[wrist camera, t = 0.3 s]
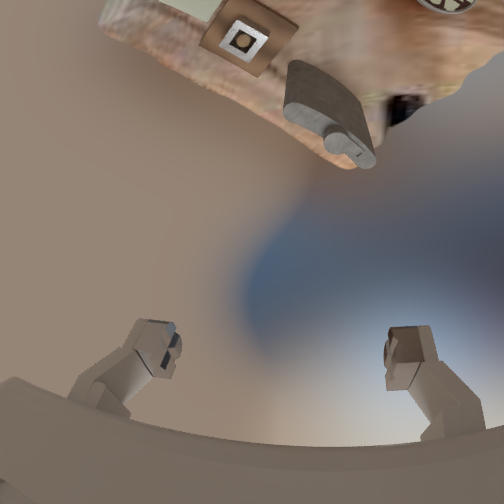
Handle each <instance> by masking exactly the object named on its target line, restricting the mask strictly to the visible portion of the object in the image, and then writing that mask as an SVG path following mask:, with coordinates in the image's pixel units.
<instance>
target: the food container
mask: <svg viewBox="0 0 504 504" xmlns="http://www.w3.org/2000/svg"><path fill="white" fill-rule="evenodd" d="M417 1H418V2H419V3H420V4H422V5H423V6H425V7H427V8H428V9H430V10H433V11H435V12H439V13H445V14H458V13H462V12H464V11H467V10H468V9H470V8H471V7H472V6H473V5H474V4H475V3H476V1H477V0H417Z"/></svg>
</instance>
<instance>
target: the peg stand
mask: <svg viewBox="0 0 504 504" xmlns="http://www.w3.org/2000/svg"><path fill="white" fill-rule="evenodd" d="M241 15H242V16H244V17H246V18H248V19H250V20H251V21H253V22H255V23H256V24H258V25H260V26H262V27H263V28H265V29H267V30H268V31H270V35H269V38H268V39H267V40H266V41H265V43H264V44H263V45H262V46H261V48H260V49H259V50H258V52H257V53H256V54H255V55H254V57H253V58H252V59H251V61H250V62H249V63H247V62H246V61H244V60H242V59H241V58H239V57H237V56H235V55H233V54H232V53H230V52H228V51H226V50H224V49H223V48H221V47H219V45H220V43H221V42H222V40H223V39H224V37H225V36H226V34H227V33H228V31H229V30H230V29H231V27H232V26H233V24H234V23H235V22H236V20H237V19H238V18H239V17H240V16H241ZM298 28H299V26H297V25H296V24H294V23H293V22H291V21H290V20H288V19H286V18H285V17H283V16H282V15H280V14H278V13H277V12H275V11H274V10H272V9H270V8H269V7H267V6H265V5H263V4H262V3H260V2H258V1H256V0H228V1H227V3H226V4H225V6H224V7H223V9H222V10H221V12H220V13H219V15H218V16H217V17H216V19H215V20H214V22H213V23H212V25H211V27H210V28H209V30H208V31H207V33H206V34H205V36H204V37H203V39H202V41H201V42H200V44H199V46H201V47H203V48H205V49H207V50H209V51H211V52H213V53H214V54H216V55H218V56H220V57H222V58H224V59H226V60H227V61H229V62H231V63H233V64H234V65H236V66H238V67H240V68H241V69H243V70H245V71H247V72H248V73H250V74H252V75H253V76H255V77H257V78H258V77H259V76H260V74H261V73H262V72H263V71H264V69H265V68H266V67H267V66H268V64H269V63H270V62H271V61H272V59H273V58H274V57H275V56H276V55H277V53H278V52H279V51H280V50H281V49H282V47H283V46H284V45H285V44H286V43H287V42H288V40H289V39H290V38H291V37H292V36H293V35H294V33H295V32H296V31H297V30H298ZM234 38H235V39H237V41H236V42H237V44H238V46H240V47H246V46H249V47H250V46H251V45H252V44H253V42H254V41H255V40H256V38H254V37H253V36H251V35H249V34H247V33H246V32H244V31H242V30H239V31H238V32H237V34H236V35H235V36H234Z"/></svg>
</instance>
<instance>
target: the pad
mask: <svg viewBox="0 0 504 504" xmlns="http://www.w3.org/2000/svg"><path fill="white" fill-rule="evenodd" d="M158 1H160V2H162V3H165V4H167V5H170V6H172V7H174V8H176V9H179V10H181V11H183V12H185V13H187V14H190V15H192V16H194V17H196V18H198V19H200V20H202V21H204V22H206V23H208V21H209V20H210V18H211V17H212V15H213V14H214V12H215V11H216V9H217V8H218V6H219V5H220V3H221V2H222V1H223V0H158Z"/></svg>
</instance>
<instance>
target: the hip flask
mask: <svg viewBox="0 0 504 504" xmlns="http://www.w3.org/2000/svg"><path fill="white" fill-rule="evenodd" d="M283 115H284V117H285V118H286V119H287V120H288V121H290V122H293V123H295V124H298V125H300V126H302V127H305V128H307V129H309V130H311V131H312V132H314V133H316V134H318V135H320V136H321V137H323V138H324V139H323V140H324V141H323V142H324V147H325V149H326V150H327V151H328V152H329V153H332V154H343V153H345V154H346V155H347V156H348V157H349V158H350V159H352V160H353V161H354V163H355V164H356V165H357V166H358V167H360V168H362V169H369V168H371V167H373V166H374V165H375V163H376V156H375V152H374V148H373V145H372V141H371V137H370V134H369V130H368V127H367V123H366V120H365V116H364V113H363V110H362V107H361V104H360V102H359V101H358V99H357V98H356V97H355V96H354V95H353V94H352V93H351V92H350V91H349V90H348V89H347V88H345V87H344V86H343V85H342V84H341V83H339V82H338V81H337V80H335V79H334V78H332V77H331V76H330V75H328V74H326V73H325V72H323V71H321V70H320V69H318V68H316V67H314V66H312V65H310V64H308V63H305V62H303V61H300V60H293V61H291V62H290V63H289V66H288V74H287V82H286V90H285V99H284V107H283Z"/></svg>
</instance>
